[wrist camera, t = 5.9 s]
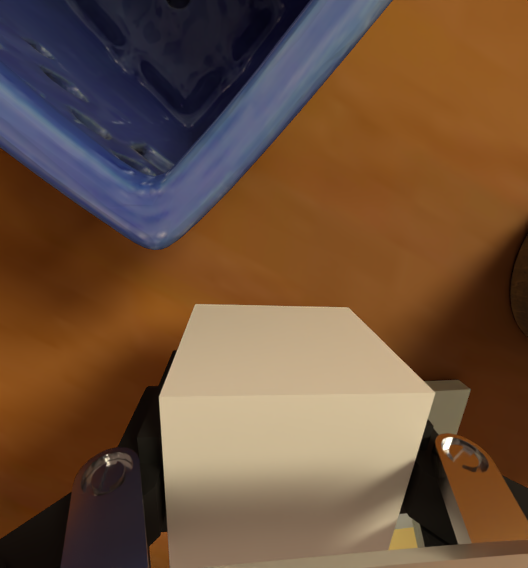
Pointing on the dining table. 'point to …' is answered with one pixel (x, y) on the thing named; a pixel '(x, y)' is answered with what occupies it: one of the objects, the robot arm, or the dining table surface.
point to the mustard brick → (403, 539)
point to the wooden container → (520, 288)
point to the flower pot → (161, 96)
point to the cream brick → (285, 435)
